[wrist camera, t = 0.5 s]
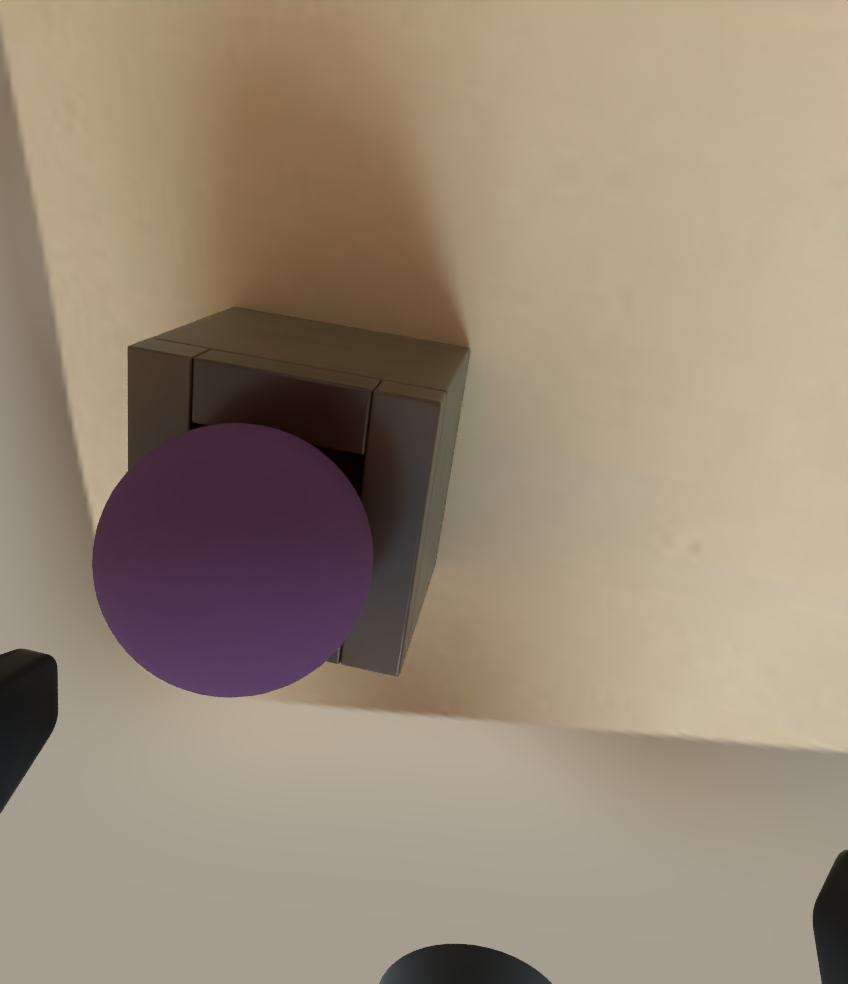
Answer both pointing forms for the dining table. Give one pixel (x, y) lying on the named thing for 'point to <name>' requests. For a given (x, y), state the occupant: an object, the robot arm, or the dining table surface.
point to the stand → (325, 433)
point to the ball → (232, 560)
